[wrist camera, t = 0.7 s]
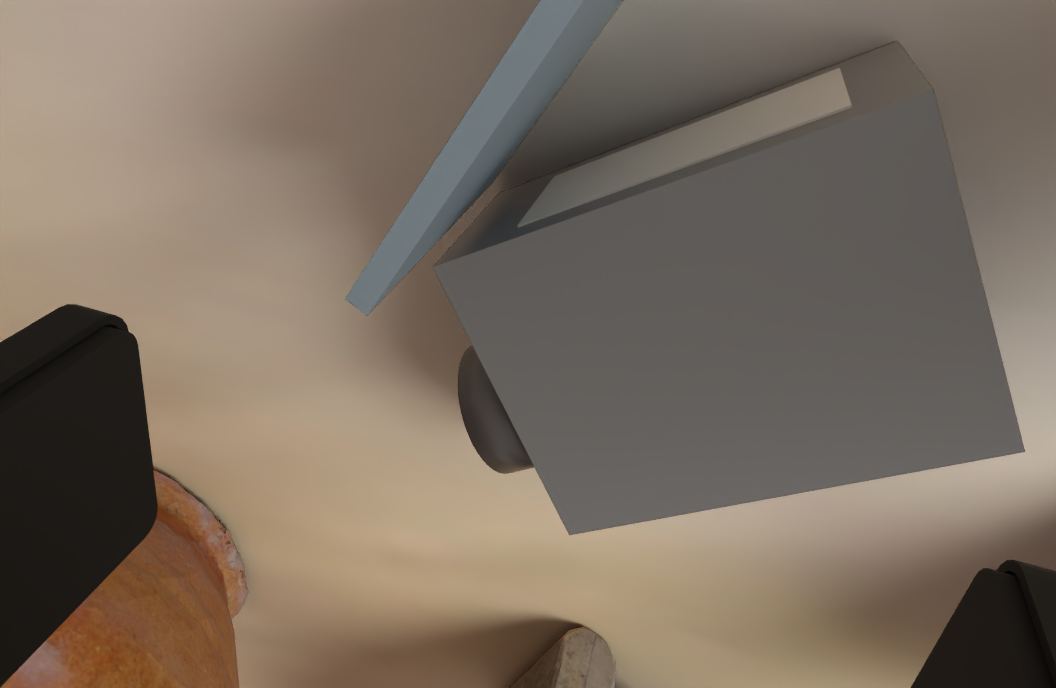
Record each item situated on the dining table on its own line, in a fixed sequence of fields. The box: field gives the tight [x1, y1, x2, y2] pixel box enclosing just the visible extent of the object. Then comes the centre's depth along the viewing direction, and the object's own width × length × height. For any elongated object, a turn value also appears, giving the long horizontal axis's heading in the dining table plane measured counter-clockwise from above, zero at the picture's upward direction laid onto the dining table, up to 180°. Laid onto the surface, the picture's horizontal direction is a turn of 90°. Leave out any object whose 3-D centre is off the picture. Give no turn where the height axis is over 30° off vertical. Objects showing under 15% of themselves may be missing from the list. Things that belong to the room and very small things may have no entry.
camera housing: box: [433, 41, 1025, 535], centre depth 31 cm, size 18×12×8 cm, turn 115°
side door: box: [345, 0, 623, 315], centre depth 26 cm, size 12×2×12 cm, turn 145°
